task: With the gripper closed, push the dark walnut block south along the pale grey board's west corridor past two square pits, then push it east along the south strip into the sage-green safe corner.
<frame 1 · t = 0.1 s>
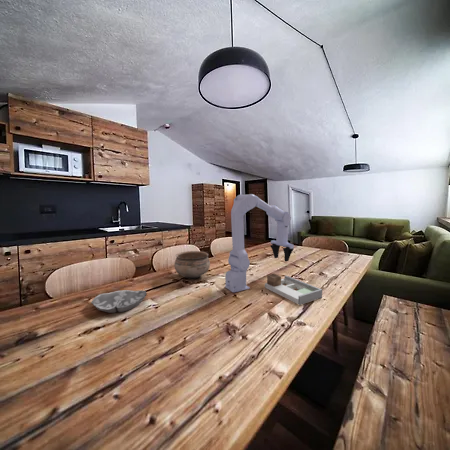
hand: (281, 259, 116), 10 cm above the table, fingers open, 7 cm apart
brain slice: (120, 306, 86), on the table
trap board: (290, 292, 99), on the table
cooking pot: (192, 277, 118), on the table
walnut block: (273, 284, 103), point 2 cm above the table, touching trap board
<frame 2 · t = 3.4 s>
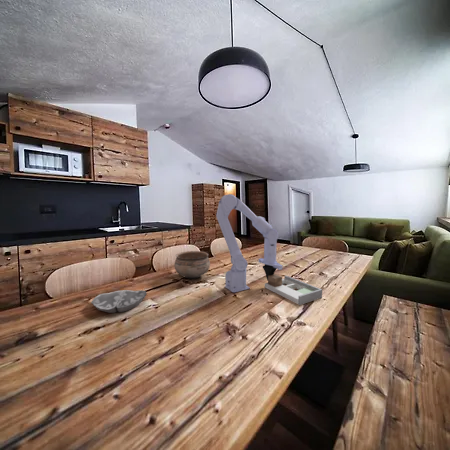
hand: (269, 280, 105), 3 cm above the table, fingers closed
walnut block: (274, 284, 102), point 2 cm above the table, touching gripper, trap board
everything else where it was.
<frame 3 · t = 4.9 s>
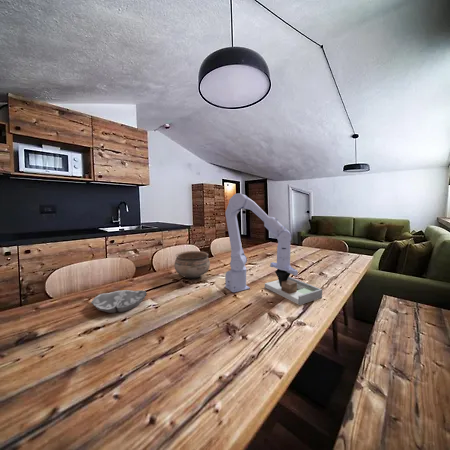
hand: (282, 286, 98), 3 cm above the table, fingers closed
walnut block: (288, 291, 95), point 2 cm above the table, touching gripper
everything else where it was.
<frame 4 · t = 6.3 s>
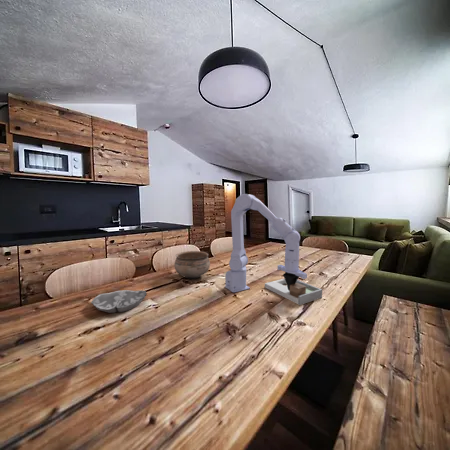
hand: (290, 290, 94), 3 cm above the table, fingers closed
walnut block: (297, 295, 91), point 2 cm above the table, touching gripper, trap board
everything else where it was.
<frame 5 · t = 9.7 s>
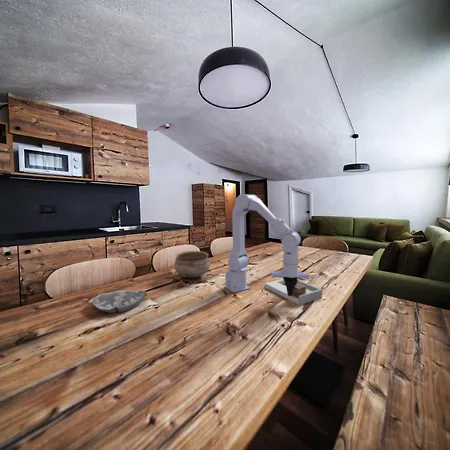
hand: (289, 295, 89), 3 cm above the table, fingers closed
walnut block: (297, 295, 91), point 2 cm above the table, touching gripper
everything else where it was.
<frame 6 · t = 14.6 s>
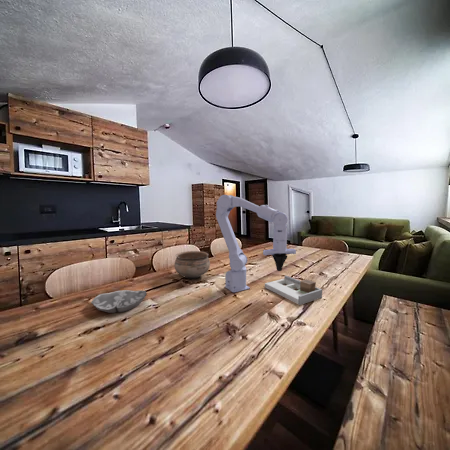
hand: (279, 270, 96), 10 cm above the table, fingers closed
walnut block: (307, 290, 95), point 2 cm above the table, touching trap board
everything else where it was.
at the end: walnut block inside the target area on the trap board (1.1 cm from its centre), point 2.0 cm above the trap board's base; walnut block tilted 0°; walnut block moved 15.0 cm from its start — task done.
